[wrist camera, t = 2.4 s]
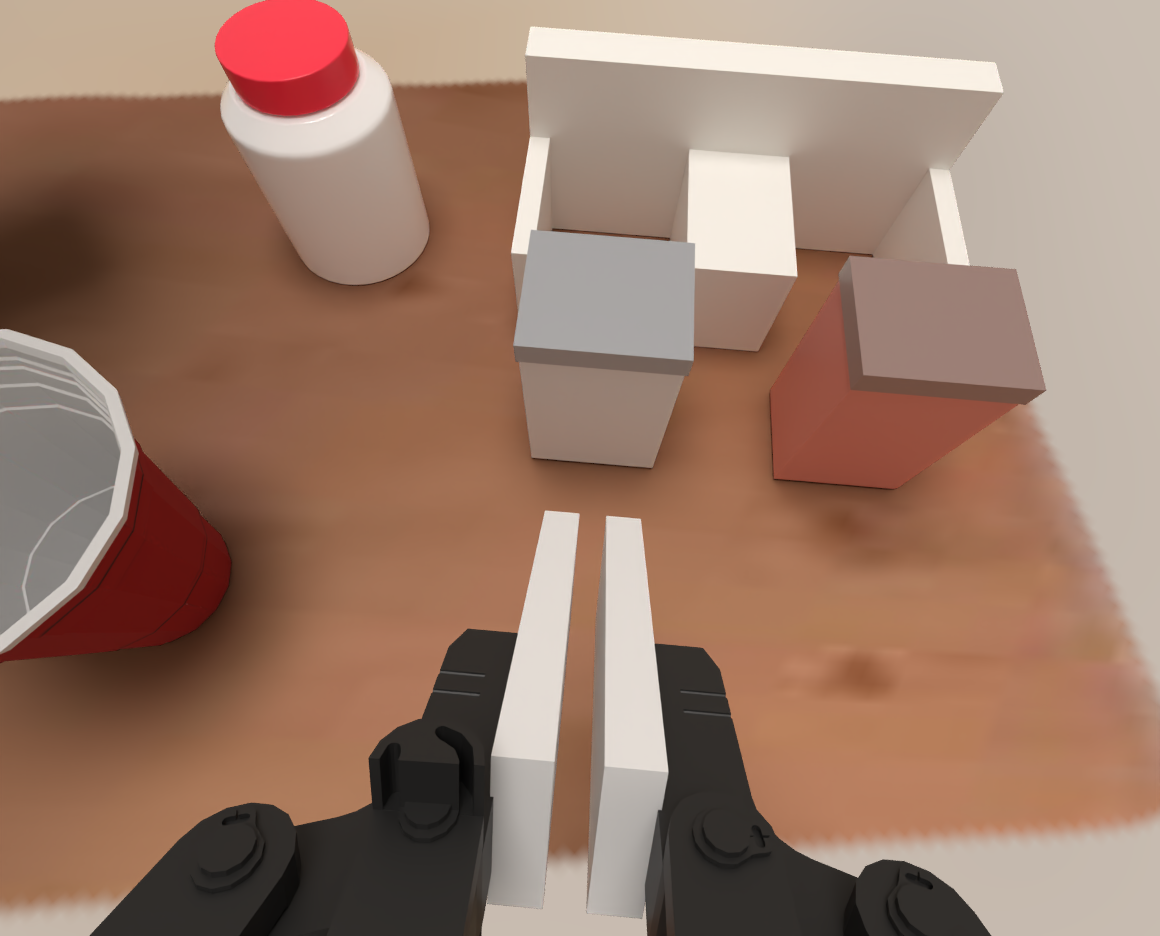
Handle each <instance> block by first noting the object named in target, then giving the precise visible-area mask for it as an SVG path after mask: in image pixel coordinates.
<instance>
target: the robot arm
mask: <svg viewBox="0 0 1160 936" xmlns="http://www.w3.org/2000/svg"><path fill="white" fill-rule="evenodd" d="M578 524H579V513H567V512H556V511H545V513H544V518H543V523H542V527H541V532H540V536H539V541H538V545H537V550H536V554H535V559H534V563H533V568H532V572H531V577H530V581H529V586H528V591H527V595H526V600H525V604H524V609H523V613H522V618H521V622H520V627H519V631H518V633H510V632H499V631H487V630H476V629H467V630H466V631H465V632H464V633H463V634H462V635H461V636H460V637H459V638H458V639H457V640H455V641H454V642H453V643H452V644H451V645H450V646H449V648H448V650H447V653H446V656H445V658H444V661H443V664H442V666H441V669H440V674H438V677H437V680H436V682H435V685H434V688H433V693H431V696H430V698H429V701H428V703H427V706H426V709H425V711H424V714H423V717H422V719H418V720H415V721H413V722H410V723H407V724H405V725H402V726H400V727H397V728H396V729H395V730H393V731H392V732H391V733H389V734H388V735H387V736H386V737H384V738H383V739H382V740H380V742H379V743H378V745H377V746H376V748H375V749H374V751H373V752H372V754H371V755H370V757H369V770H370V782H371V794H372V803H371V804H369V805H367V806H365V807H363V808H362V809H360V810H358V811H356V812H353V813H349V814H346V815H343V816H340V817H336V818H331V819H326V820H322V821H317V822H312V823H307V824H303V825H298V826H294V825H293V823H292V821H291V819H290V817H289V815H288V814H287V813H285V812H284V811H282V810H280V809H279V808H277V807H276V806H274V805H269V804H260V803H248V804H243V805H239V806H234V807H230V808H226V809H224V810H222V811H220V812H218V813H216V814H214V815H212V816H210V817H208V818H206V819H204V820H202V821H201V822H200V823H198V824H197V825H196V826H195V827H194V828H192V829H191V830H190V831H189V832H188V833H187V834H185V835H184V836H183V837H182V838H181V839H179V840H178V841H177V843H176V844H175V845H174V846H173V847H172V848H171V849H170V850H169V851H168V852H167V853H166V854H165V855H164V856H163V858H162V859H161V860H160V861H159V862H158V863H157V864H156V865H155V866H154V867H153V868H152V869H151V870H150V871H149V873H148V874H147V875H146V876H145V877H144V878H143V879H142V880H141V881H140V882H139V883H138V884H137V885H136V886H135V888H134V889H133V890H132V891H131V892H130V893H129V894H128V895H127V896H126V897H125V898H124V899H123V900H122V901H121V903H120V904H119V905H118V906H117V907H116V908H115V909H114V910H113V911H112V912H111V913H110V914H109V915H108V916H107V918H106V919H105V920H104V921H103V922H102V923H101V924H100V925H99V926H98V927H97V928H96V929H95V930H94V932H93V933H92V934H91V935H90V936H481V929H482V922H483V917H484V911H485V906H486V900H487V899H488V900H487V904H493V905H503V906H514V907H524V908H536V909H543V901H544V890H545V880H546V870H547V860H548V849H549V839H550V828H551V818H552V808H553V797H554V787H555V776H556V766H557V755H558V745H559V734H560V724H561V714H562V703H563V693H564V682H565V672H566V661H567V651H568V640H569V630H570V620H571V608H572V596H573V584H574V572H575V560H576V548H577V536H578ZM587 883H588V884H587V911H586V912H587V914H599V915H608V916H619V917H629V918H640V919H642V916H643V911H644V905H645V901H646V919H647V936H991V935H990V933H989V932H988V931H987V929H986V928H985V926H984V925H983V924H982V922H981V921H980V919H979V918H978V917H977V915H976V914H975V912H974V911H973V910H972V909H971V908H970V907H969V906H968V905H967V904H966V902H965V901H964V900H963V899H962V898H961V897H960V896H959V895H958V894H957V892H956V891H955V890H954V889H953V888H951V887H950V886H948V885H947V884H946V883H944V882H943V881H941V880H940V879H939V878H937V877H936V876H935V875H933V874H932V873H931V872H929V871H927V870H924V869H922V868H919V867H917V866H914V865H912V864H910V863H907V862H905V861H894V860H880V861H878V862H875V863H873V864H870V865H867V866H865V868H864V870H863V871H862V873H861V874H860V876H859V877H858V878H857V877H855V876H852V875H850V874H847V873H845V872H842V871H840V870H837V869H835V868H832V867H830V866H828V865H825V864H822V863H820V862H818V861H815V860H813V859H811V858H809V857H807V856H805V855H803V854H801V853H799V852H797V851H795V850H794V849H792V848H791V847H790V846H788V845H787V844H786V843H784V842H783V841H782V840H780V839H779V838H778V837H777V836H776V835H775V833H774V831H773V829H772V827H771V825H770V824H769V823H768V822H767V821H766V820H765V819H764V817H763V816H762V815H761V814H760V813H759V812H758V811H757V810H756V807H755V804H754V802H753V799H752V796H751V792H750V788H749V784H748V780H747V776H746V772H745V768H744V764H743V760H742V756H741V752H740V748H739V744H738V740H737V736H736V732H735V728H734V724H733V720H732V719H731V712H730V708H729V704H728V700H727V698H726V692H725V688H724V684H723V680H722V676H721V672H720V669H719V668H718V666H717V665H716V664H715V663H714V661H713V660H712V659H711V658H710V656H709V655H708V654H707V653H706V651H705V650H704V649H703V648H698V647H687V646H676V645H665V644H654V635H653V626H652V617H651V608H650V599H649V590H648V581H647V571H646V562H645V553H644V544H643V535H642V526H641V519H636V518H625V517H613V516H606V525H605V534H604V544H603V554H602V563H601V573H600V583H599V592H598V602H597V612H596V629H595V660H594V691H593V723H592V754H591V785H590V817H589V848H588V881H587ZM487 895H488V897H487Z"/></svg>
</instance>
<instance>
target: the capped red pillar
mask: <svg viewBox="0 0 1160 936" xmlns="http://www.w3.org/2000/svg"><path fill="white" fill-rule="evenodd" d="M1045 391H1046V388H1045V384H1044V380H1043V376H1042V371H1041V367H1040V363H1039V359H1038V356H1037V352H1036V347H1035V343H1034V340H1033V335H1032V331H1031V327H1030V323H1029V319H1028V315H1027V311H1026V307H1025V303H1024V299H1023V295H1022V291H1021V287H1020V283H1019V279H1018V275H1017V271H1016V269H1005V268H993V267H980V266H968V265H956V264H944V263H932V262H919V261H907V260H895V259H883V258H870V257H858V256H849V258H848V259H847V261H846V263H845V264H844V266H843V268H842V269H841V271H840V272H839V281H838V282H837V284H836V286H835V287H834V289H833V290H832V292H831V294H830V295H829V297H828V298H827V300H826V302H825V303H824V305H823V306H822V308H821V310H820V311H819V313H818V314H817V316H816V318H815V319H814V321H813V322H812V324H811V326H810V327H809V329H808V330H807V332H806V334H805V335H804V337H803V338H802V340H801V342H800V343H799V345H798V346H797V348H796V350H795V351H794V353H793V354H792V356H791V358H790V359H789V361H788V362H787V364H786V366H785V367H784V369H783V370H782V372H781V374H780V375H779V377H778V378H777V380H776V382H775V383H774V385H773V386H772V388H771V390H770V400H771V423H772V446H773V469H774V479H785V480H797V481H808V482H820V483H831V484H843V485H855V486H866V487H878V488H889V489H897V488H898V487H900V486H901V485H903V484H904V483H906V482H907V481H908V480H910V479H911V478H913V477H914V476H916V475H917V474H919V473H920V472H921V471H923V470H924V469H926V468H927V467H929V466H930V465H932V464H933V463H934V462H936V461H937V460H939V459H940V458H942V457H943V456H945V455H946V454H947V453H949V452H950V451H952V450H953V449H955V448H956V447H958V446H959V445H960V444H962V443H963V442H965V441H966V440H968V439H969V438H971V437H972V436H973V435H975V434H976V433H978V432H979V431H981V430H982V429H984V428H985V427H987V426H988V425H989V424H991V423H992V422H994V421H995V420H997V419H998V418H1000V417H1001V416H1002V415H1004V414H1005V413H1007V412H1008V411H1010V410H1011V409H1013V408H1014V407H1015V406H1017V405H1018V404H1023V405H1026V404H1027V403H1029V402H1030V401H1032V400H1033V399H1034V398H1036V397H1037V396H1039V395H1040V394H1042V393H1043V392H1045Z"/></svg>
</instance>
